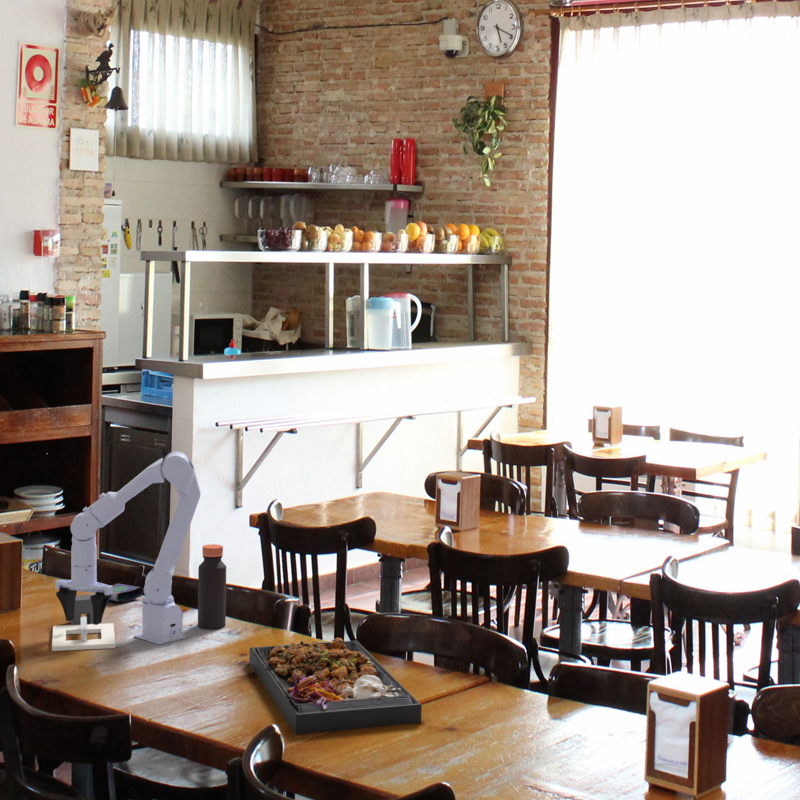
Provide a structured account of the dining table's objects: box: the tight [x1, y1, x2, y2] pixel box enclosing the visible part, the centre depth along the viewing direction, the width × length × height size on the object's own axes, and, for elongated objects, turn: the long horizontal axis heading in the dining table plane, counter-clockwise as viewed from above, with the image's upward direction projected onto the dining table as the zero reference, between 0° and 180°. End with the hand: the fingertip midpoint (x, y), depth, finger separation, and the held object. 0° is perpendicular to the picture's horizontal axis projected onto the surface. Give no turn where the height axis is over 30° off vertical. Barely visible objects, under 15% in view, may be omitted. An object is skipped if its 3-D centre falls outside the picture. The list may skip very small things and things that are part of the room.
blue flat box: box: [94, 583, 144, 603], centre depth 319 cm, size 9×3×11 cm
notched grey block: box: [68, 593, 95, 625], centre depth 295 cm, size 6×5×6 cm
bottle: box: [197, 543, 227, 631], centre depth 294 cm, size 7×7×20 cm
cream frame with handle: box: [51, 615, 117, 652], centre depth 282 cm, size 18×14×4 cm
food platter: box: [248, 637, 423, 736], centre depth 247 cm, size 45×25×10 cm, turn 18°
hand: (83, 621), depth 281 cm, fingers open, 7 cm apart
